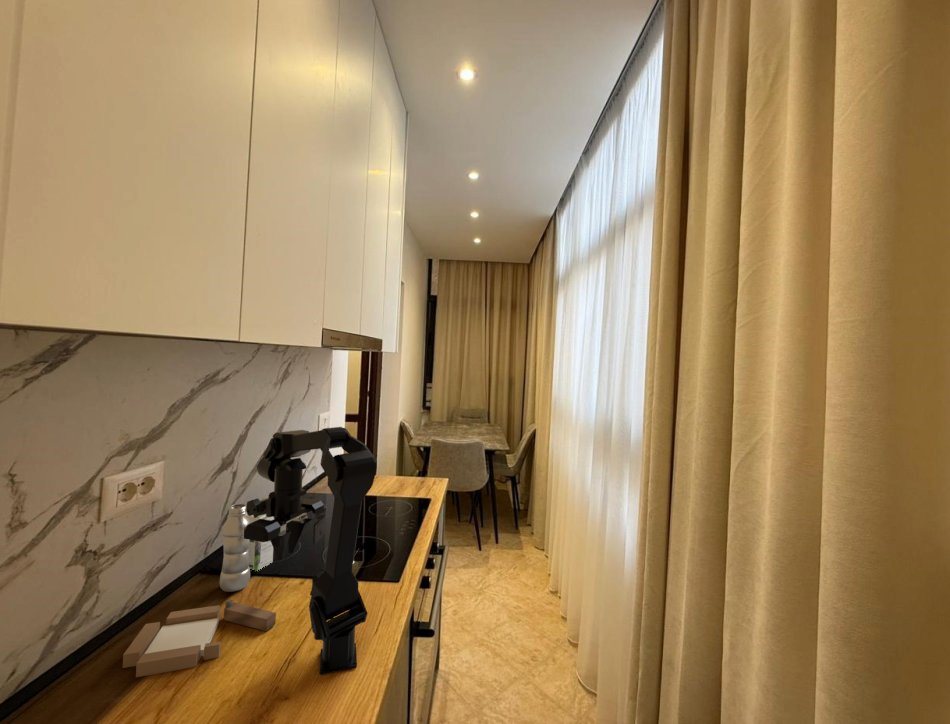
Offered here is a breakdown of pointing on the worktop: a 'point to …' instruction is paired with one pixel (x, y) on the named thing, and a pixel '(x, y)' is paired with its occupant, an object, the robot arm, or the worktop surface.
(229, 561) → the silver metal bottle
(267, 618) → the leg
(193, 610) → the seat
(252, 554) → the syrup box
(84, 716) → the worktop surface
